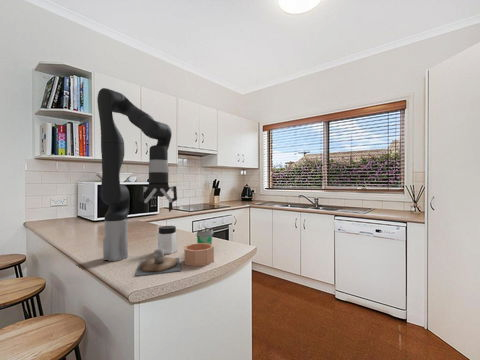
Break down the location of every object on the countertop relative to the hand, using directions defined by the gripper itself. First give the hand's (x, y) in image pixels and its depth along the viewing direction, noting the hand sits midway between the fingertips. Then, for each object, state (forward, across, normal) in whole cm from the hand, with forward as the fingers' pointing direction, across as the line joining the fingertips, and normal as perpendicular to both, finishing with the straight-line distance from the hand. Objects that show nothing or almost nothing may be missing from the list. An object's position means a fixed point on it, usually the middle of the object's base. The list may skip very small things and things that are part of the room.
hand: (158, 212), depth 96 cm
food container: (+22, +22, +18) cm, 36 cm away
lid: (+22, 0, 0) cm, 22 cm away
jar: (+22, +3, +21) cm, 31 cm away
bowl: (+22, +16, +2) cm, 27 cm away
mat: (+22, 0, 0) cm, 22 cm away
